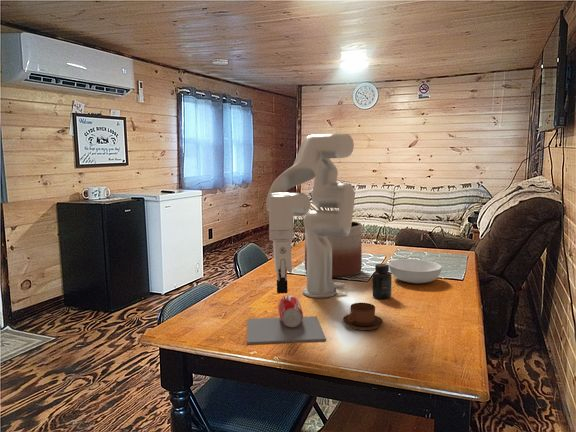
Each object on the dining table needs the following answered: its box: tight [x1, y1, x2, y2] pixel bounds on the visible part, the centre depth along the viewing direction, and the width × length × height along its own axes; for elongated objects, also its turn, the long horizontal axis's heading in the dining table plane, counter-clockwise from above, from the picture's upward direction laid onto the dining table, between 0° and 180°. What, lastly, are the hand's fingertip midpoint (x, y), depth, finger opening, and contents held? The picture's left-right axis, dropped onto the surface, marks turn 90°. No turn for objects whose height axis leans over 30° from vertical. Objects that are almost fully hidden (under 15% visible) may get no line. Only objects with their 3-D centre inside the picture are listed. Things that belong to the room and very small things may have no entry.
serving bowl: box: [388, 258, 443, 285], centre depth 183 cm, size 21×21×7 cm
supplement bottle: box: [372, 263, 393, 300], centre depth 161 cm, size 7×7×12 cm
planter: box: [304, 220, 363, 279], centre depth 197 cm, size 25×25×22 cm
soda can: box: [277, 294, 304, 327], centre depth 135 cm, size 7×7×12 cm
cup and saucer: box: [342, 302, 384, 331], centre depth 134 cm, size 12×12×6 cm
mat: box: [246, 315, 327, 345], centre depth 131 cm, size 22×18×1 cm
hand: (282, 292), depth 138 cm, fingers closed
